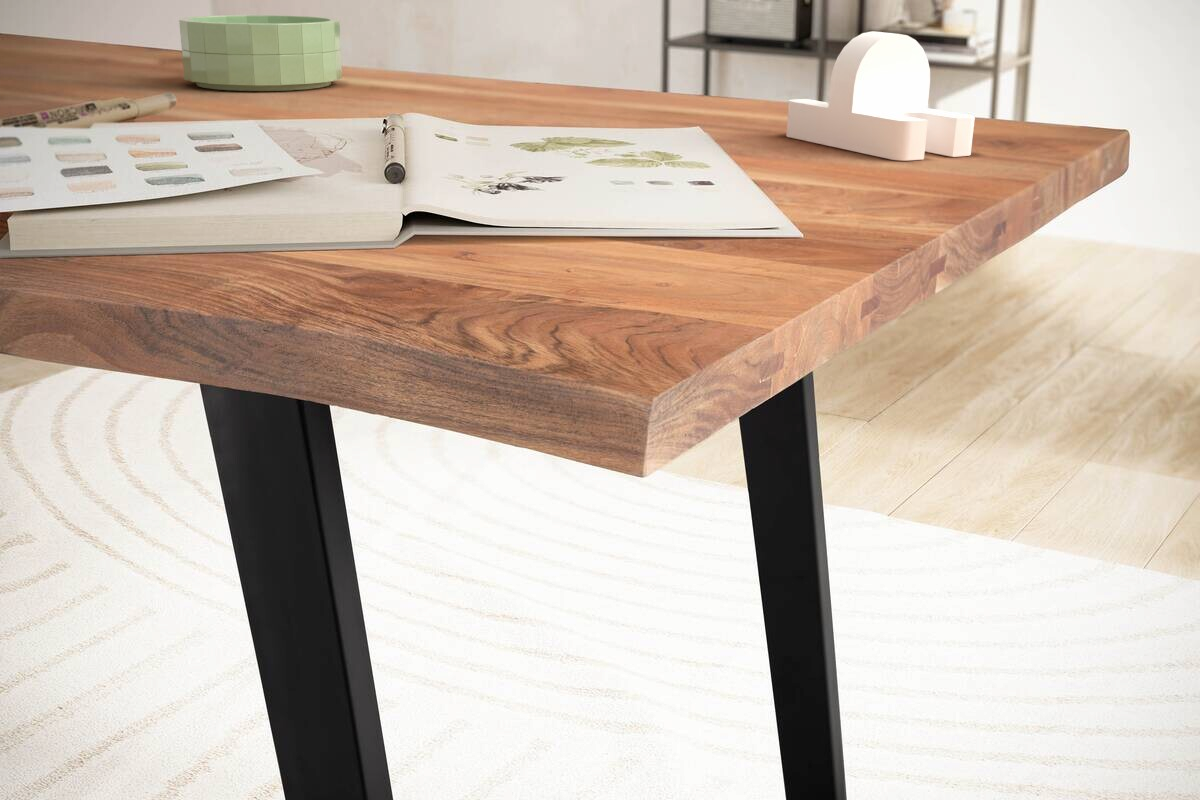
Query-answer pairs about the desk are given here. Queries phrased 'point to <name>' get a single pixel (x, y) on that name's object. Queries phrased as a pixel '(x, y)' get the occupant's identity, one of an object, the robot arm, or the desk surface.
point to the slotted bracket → (881, 104)
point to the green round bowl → (261, 52)
